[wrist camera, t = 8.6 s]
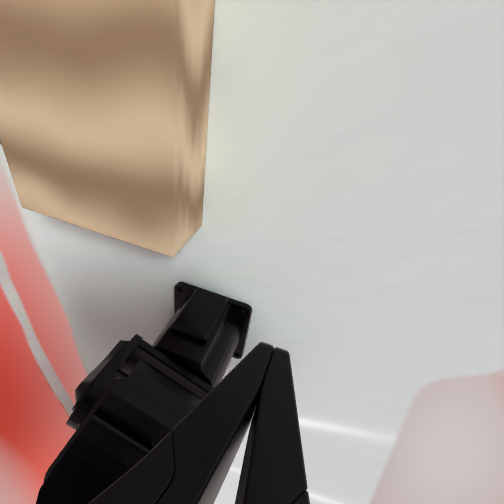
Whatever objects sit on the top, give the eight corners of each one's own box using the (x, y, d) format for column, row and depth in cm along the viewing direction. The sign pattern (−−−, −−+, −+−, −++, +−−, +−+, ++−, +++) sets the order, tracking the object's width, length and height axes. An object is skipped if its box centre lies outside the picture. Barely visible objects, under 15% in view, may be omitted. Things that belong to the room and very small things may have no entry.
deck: (201, 225, 23) (173, 257, 20) (67, 184, 25) (22, 207, 22) (231, -281, 11) (170, -406, 8) (-34, -289, 13) (-171, -392, 10)
